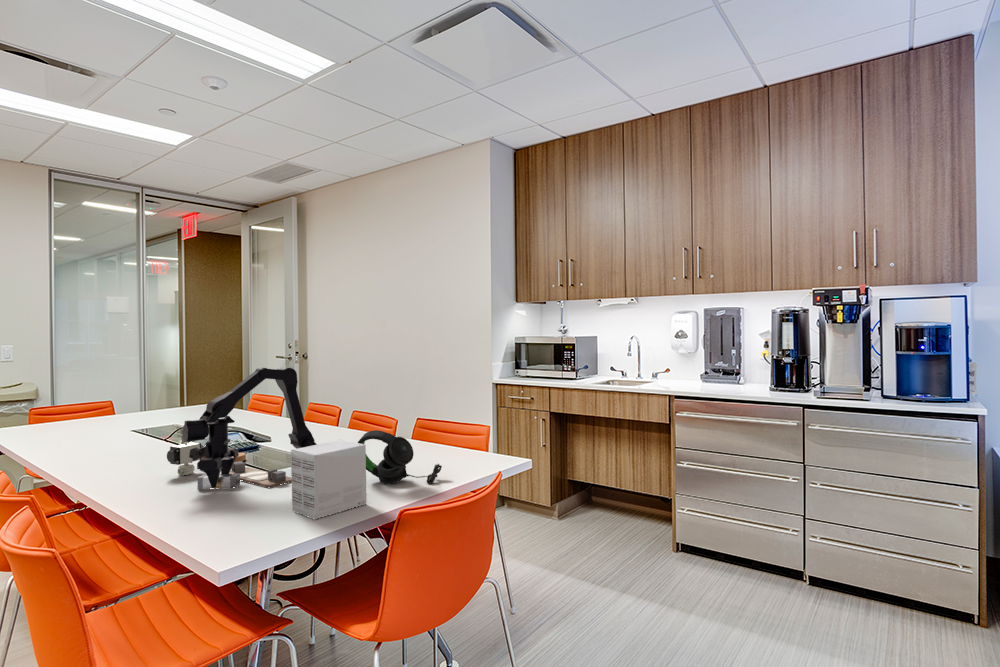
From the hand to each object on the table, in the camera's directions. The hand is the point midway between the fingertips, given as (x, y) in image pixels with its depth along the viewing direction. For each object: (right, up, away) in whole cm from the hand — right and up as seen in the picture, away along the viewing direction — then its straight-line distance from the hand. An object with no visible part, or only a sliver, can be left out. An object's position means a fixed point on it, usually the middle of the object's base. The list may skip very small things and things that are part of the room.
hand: (219, 483), depth 182 cm
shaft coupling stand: (+8, -1, +11) cm, 13 cm away
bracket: (-16, -2, +34) cm, 37 cm away
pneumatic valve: (-22, -2, +18) cm, 28 cm away
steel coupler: (0, -1, 0) cm, 1 cm away
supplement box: (+44, -1, -23) cm, 50 cm away
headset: (+59, -1, +4) cm, 59 cm away
